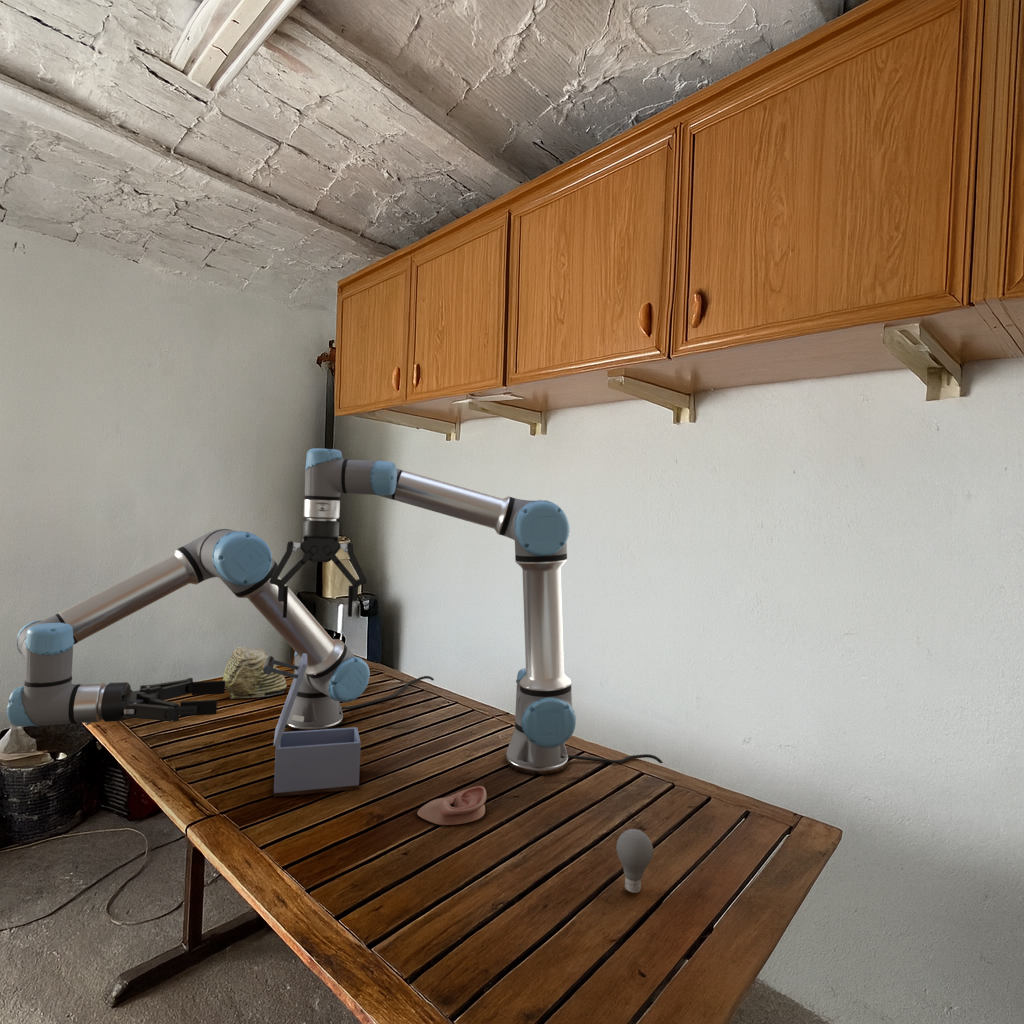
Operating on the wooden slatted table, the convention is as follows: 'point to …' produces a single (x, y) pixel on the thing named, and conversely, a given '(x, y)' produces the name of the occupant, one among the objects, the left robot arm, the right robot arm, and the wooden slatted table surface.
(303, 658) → the lid
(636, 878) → the light bulb
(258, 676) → the fossil
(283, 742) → the chest
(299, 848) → the wooden slatted table surface
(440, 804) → the anatomical model
